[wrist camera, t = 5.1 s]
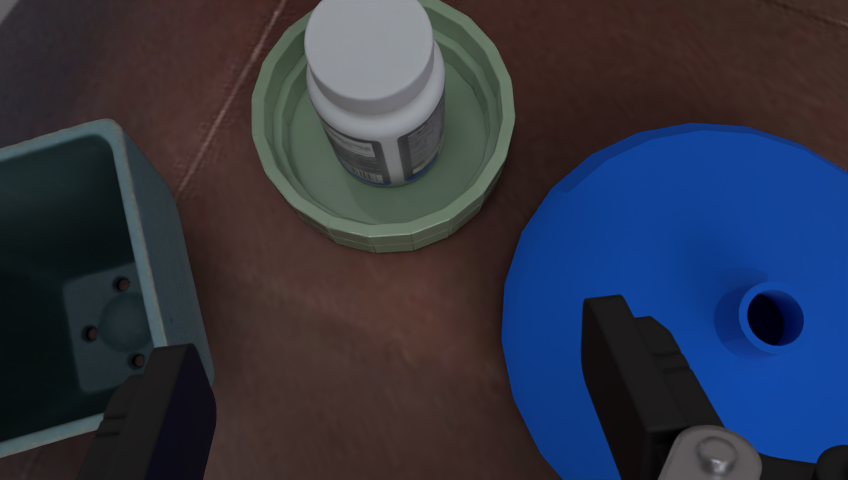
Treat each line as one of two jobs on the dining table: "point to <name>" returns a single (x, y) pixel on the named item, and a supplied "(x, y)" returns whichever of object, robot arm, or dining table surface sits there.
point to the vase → (690, 287)
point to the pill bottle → (377, 87)
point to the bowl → (401, 205)
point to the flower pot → (85, 279)
